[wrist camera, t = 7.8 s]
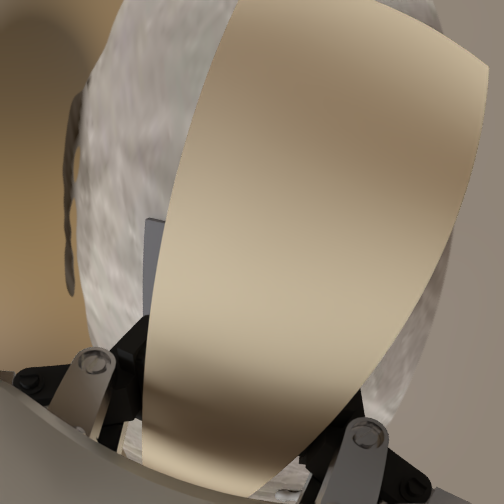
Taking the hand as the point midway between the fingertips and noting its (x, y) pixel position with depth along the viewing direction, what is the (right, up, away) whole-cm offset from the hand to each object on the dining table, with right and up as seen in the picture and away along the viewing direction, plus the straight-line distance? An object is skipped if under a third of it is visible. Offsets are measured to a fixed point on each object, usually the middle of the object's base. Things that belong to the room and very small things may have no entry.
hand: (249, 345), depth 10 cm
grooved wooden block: (0, +1, +2) cm, 2 cm away
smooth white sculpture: (+11, -63, +43) cm, 77 cm away
